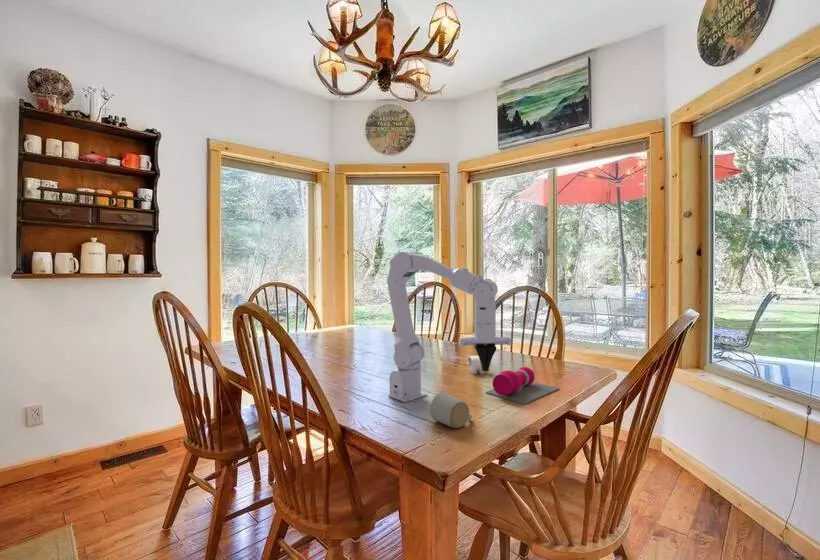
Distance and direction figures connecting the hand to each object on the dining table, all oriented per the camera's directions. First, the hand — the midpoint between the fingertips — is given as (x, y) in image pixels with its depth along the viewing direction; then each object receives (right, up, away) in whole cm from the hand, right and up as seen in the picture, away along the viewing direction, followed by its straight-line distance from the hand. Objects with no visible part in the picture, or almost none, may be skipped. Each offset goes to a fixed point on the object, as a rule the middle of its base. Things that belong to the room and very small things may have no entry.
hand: (485, 370), depth 115 cm
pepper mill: (+6, -6, +6) cm, 10 cm away
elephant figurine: (+4, -9, +36) cm, 38 cm away
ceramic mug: (-10, -11, -11) cm, 19 cm away
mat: (+14, -10, +14) cm, 22 cm away
